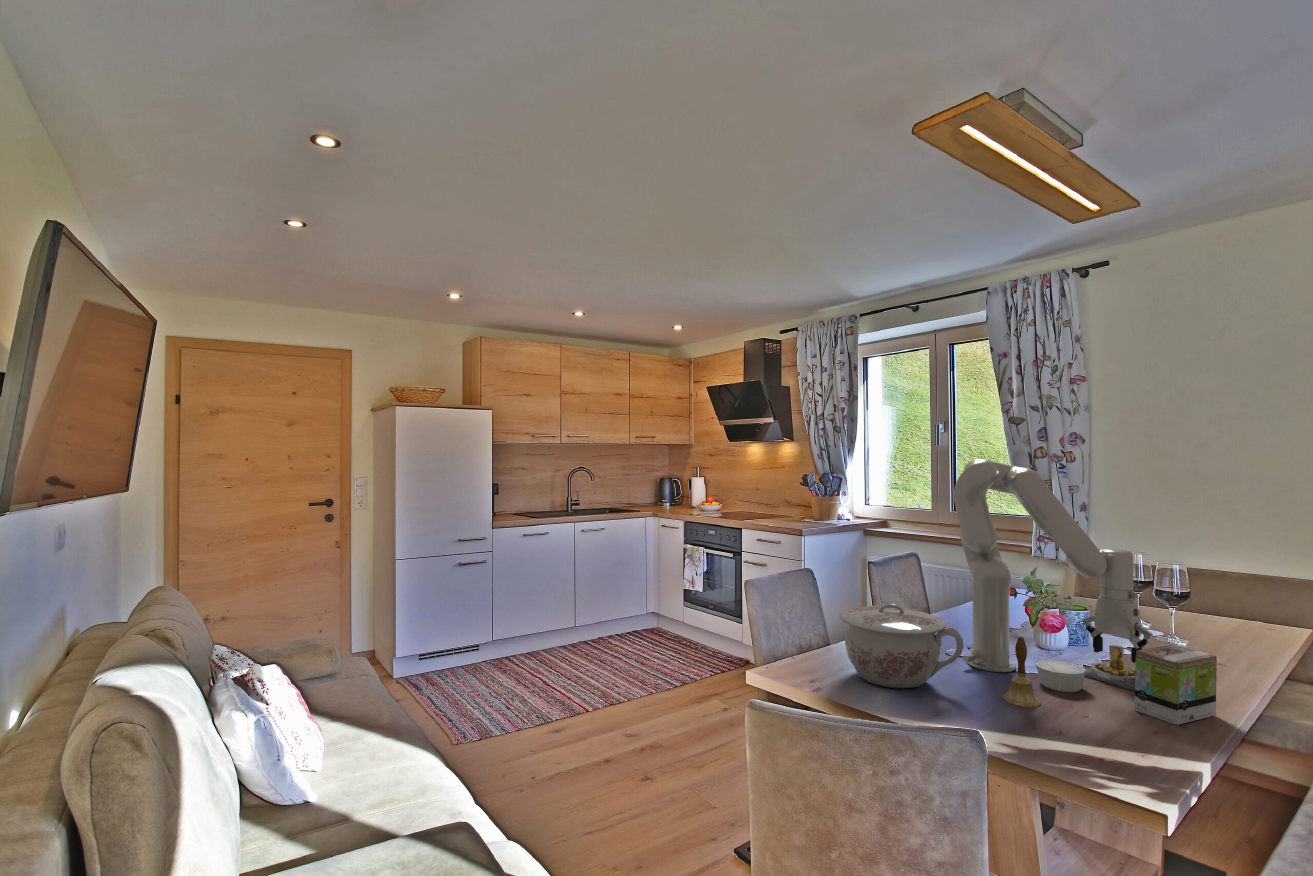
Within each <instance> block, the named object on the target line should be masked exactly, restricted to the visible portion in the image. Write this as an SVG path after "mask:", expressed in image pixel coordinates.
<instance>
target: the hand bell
mask: <svg viewBox="0 0 1313 876" xmlns="http://www.w3.org/2000/svg"><path fill="white" fill-rule="evenodd" d="M1014 649H1015V651H1014V652H1015V657H1016V660H1017V675H1016V676H1013V677H1012V678H1011V682H1010V686H1009V689H1008V691H1006V693H1004V694H1003V696H1002V699H1003V700H1004V701H1005V702H1006V703H1008V704H1010V705H1013V706H1017V707H1022V708H1030V709H1032V707H1034V708H1037V707H1040V706H1041V704H1042V703H1041V701H1040V699H1039V698H1037V697H1038V696H1037V695H1035V692H1034V686H1033V682H1032V680H1031V679H1029V678H1028V677H1027V674H1026V659H1027V656H1028V648H1027V644H1026V641H1025V638H1024V637H1022V636H1018V637H1017V639H1016V643H1015V647H1014Z"/></svg>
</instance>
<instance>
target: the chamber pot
mask: <svg viewBox="0 0 1313 876" xmlns="http://www.w3.org/2000/svg"><path fill="white" fill-rule="evenodd" d="M839 618H840V619H841V621H842V622H843V623H845V624H847V625H848V627H847V628H846V630H845V633H844V644H845V645H844V646H845V650H846V653H847V654H846V655H847V658H848V659H849V661H850V662H851V664H852V666H853V668H854V669H855V671H856V673H857V674H858V675H859V677H860V678H862V679H863V680H865V681H867V682H868V683H871V684H874V685H876V686H879V687H883V688H888V689H895V690H896V689H898V690H900V689H901V690H903V689H904V690H905V689H912V688H917V687H920V686H923V684H925V683H926V682H927V681H928V680H929V679H931V678H932V677H933V676H935V675H936V674H937V673H938V672H939V671H940V670H941V669H943V668H944V667H946V666H948V665H950V664H952V663H954V662H955V661H956V660H957V659H958V658H959V657H960V656H961V655H962V654H963V650H964V639H963V637H962V635H961V633H959V631H958V630H957V629H955V628H954V627H953V626H949V627H947V622H945V621H944V620H943V619H942V618H941V617H939V616H936V615H933V614H931V613H928V612H925V611H920V610H917V609H913V608H909V607H907V608H906V607H901V606H899V605H897V604H894V603H886V604H883V605H868V606H867V605H866V606H858V607H851V608H848V609H846V610H843V611H841V612H840V614H839ZM944 636H950V637H954V639H955V644H956V647H955V652H954V653H952V654H951V656H949V657H948V658H946V659H943V660H940V656H941V647H942V646H943V637H944Z"/></svg>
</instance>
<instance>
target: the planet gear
mask: <svg viewBox="0 0 1313 876" xmlns="http://www.w3.org/2000/svg"><path fill="white" fill-rule="evenodd" d="M1108 647H1109V649H1108V650H1109V662H1108V663H1109V664H1103V663H1104V662H1101V664H1099V670H1100V671H1103V672H1106V673H1109V674H1114V675H1120V676H1135V670H1134V669H1130V668H1128V665H1126V666H1124V665H1125V663H1124V662H1125V658H1124V657H1125V652H1124V651H1125V649H1124V647H1123V646H1121V645H1117V644H1110V645H1109V646H1108Z"/></svg>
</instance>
